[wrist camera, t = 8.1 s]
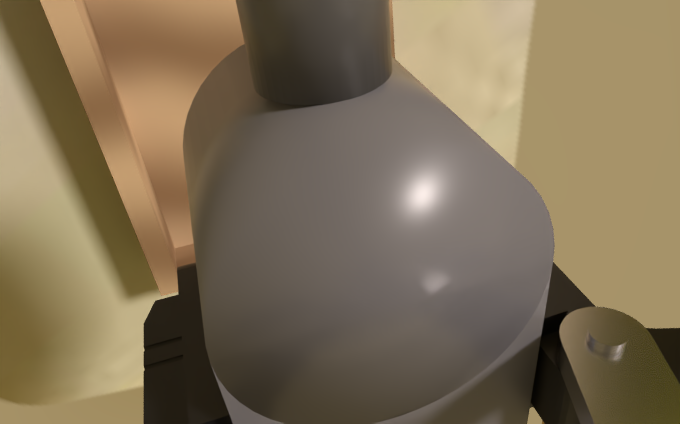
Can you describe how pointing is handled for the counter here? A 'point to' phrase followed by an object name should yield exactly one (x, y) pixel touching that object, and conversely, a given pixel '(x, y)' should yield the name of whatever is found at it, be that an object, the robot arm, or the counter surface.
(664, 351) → the robot arm
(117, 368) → the counter surface
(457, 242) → the gray bottle
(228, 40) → the oak tray
